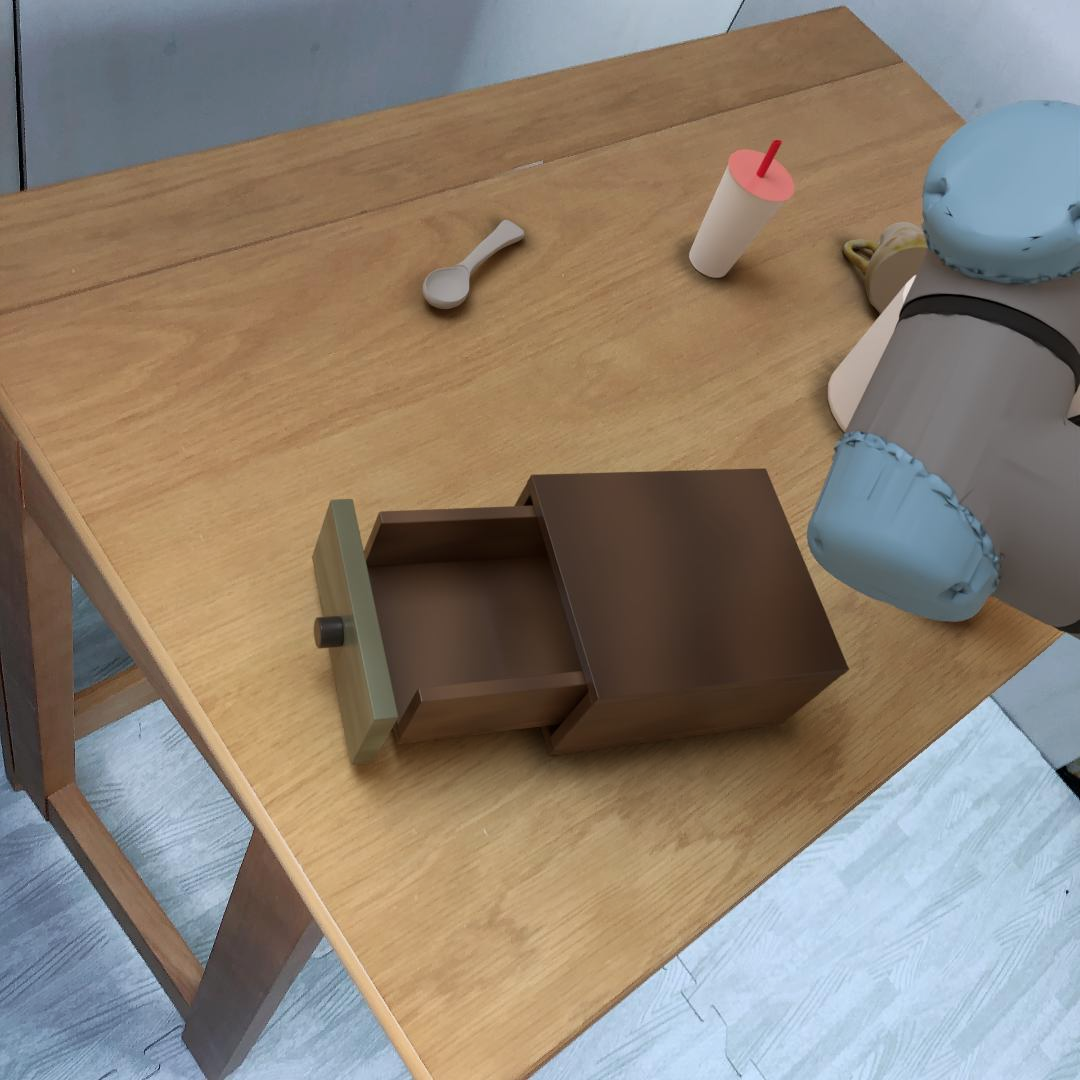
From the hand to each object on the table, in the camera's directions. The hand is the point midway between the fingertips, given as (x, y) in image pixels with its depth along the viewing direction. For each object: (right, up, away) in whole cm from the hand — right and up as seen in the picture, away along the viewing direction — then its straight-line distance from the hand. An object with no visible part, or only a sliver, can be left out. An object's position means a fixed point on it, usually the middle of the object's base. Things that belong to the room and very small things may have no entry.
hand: (1061, 524), depth 75 cm
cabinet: (-28, -7, -6) cm, 29 cm away
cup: (-21, +21, +16) cm, 34 cm away
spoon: (-39, +18, +7) cm, 43 cm away
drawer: (-39, -7, -11) cm, 41 cm away
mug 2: (-7, +9, +14) cm, 18 cm away
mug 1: (-5, +20, +22) cm, 30 cm away
